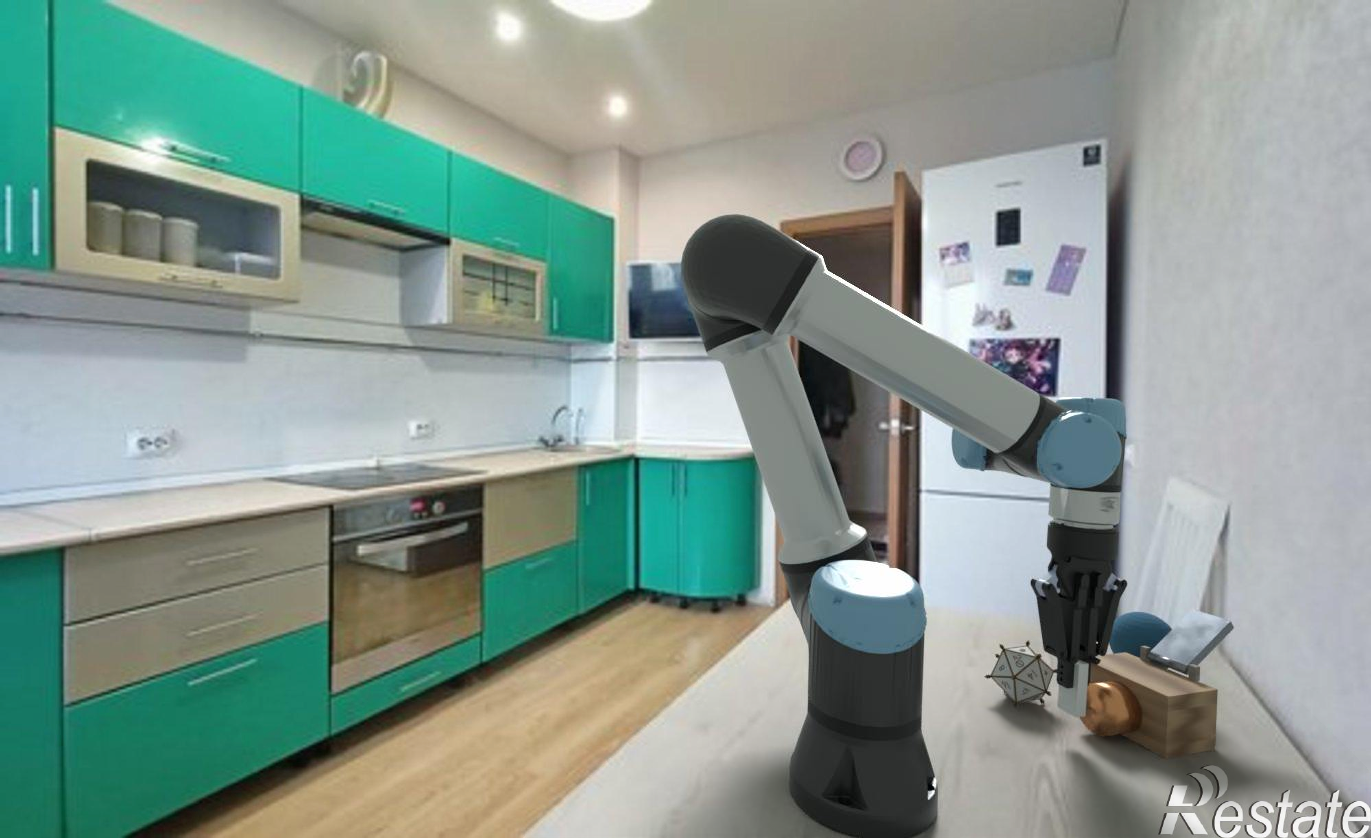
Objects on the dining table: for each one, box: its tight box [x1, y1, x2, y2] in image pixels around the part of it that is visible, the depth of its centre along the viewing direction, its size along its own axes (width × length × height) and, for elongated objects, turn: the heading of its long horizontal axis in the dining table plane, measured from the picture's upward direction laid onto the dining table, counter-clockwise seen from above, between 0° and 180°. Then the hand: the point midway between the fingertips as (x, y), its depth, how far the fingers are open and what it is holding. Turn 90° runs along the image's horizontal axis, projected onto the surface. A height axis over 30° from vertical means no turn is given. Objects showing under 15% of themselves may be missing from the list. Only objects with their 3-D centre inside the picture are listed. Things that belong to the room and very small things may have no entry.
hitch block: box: [1089, 646, 1219, 759], centre depth 84 cm, size 8×12×9 cm
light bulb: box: [1108, 611, 1173, 670], centre depth 93 cm, size 8×8×12 cm
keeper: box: [1148, 609, 1235, 676], centre depth 86 cm, size 10×5×1 cm
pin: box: [1078, 681, 1142, 737], centre depth 84 cm, size 16×6×6 cm, turn 106°
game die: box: [984, 640, 1057, 710], centre depth 91 cm, size 9×8×10 cm
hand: (1071, 711), depth 81 cm, fingers closed
